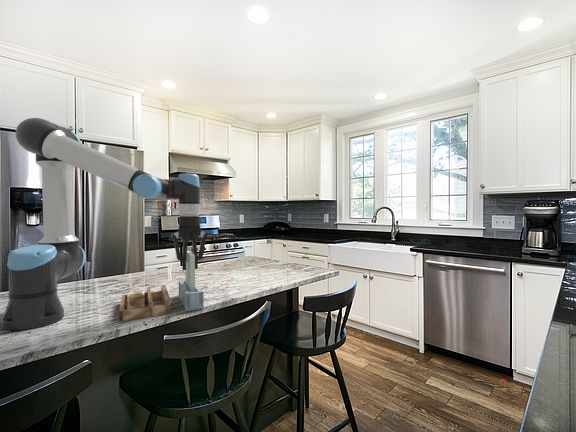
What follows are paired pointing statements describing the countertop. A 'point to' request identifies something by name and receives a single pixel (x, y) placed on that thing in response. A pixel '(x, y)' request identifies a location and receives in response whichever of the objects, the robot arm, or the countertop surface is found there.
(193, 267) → the sheet
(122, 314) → the rack
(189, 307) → the stand
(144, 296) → the offcut pine
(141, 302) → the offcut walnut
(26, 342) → the countertop surface
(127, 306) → the offcut oak
